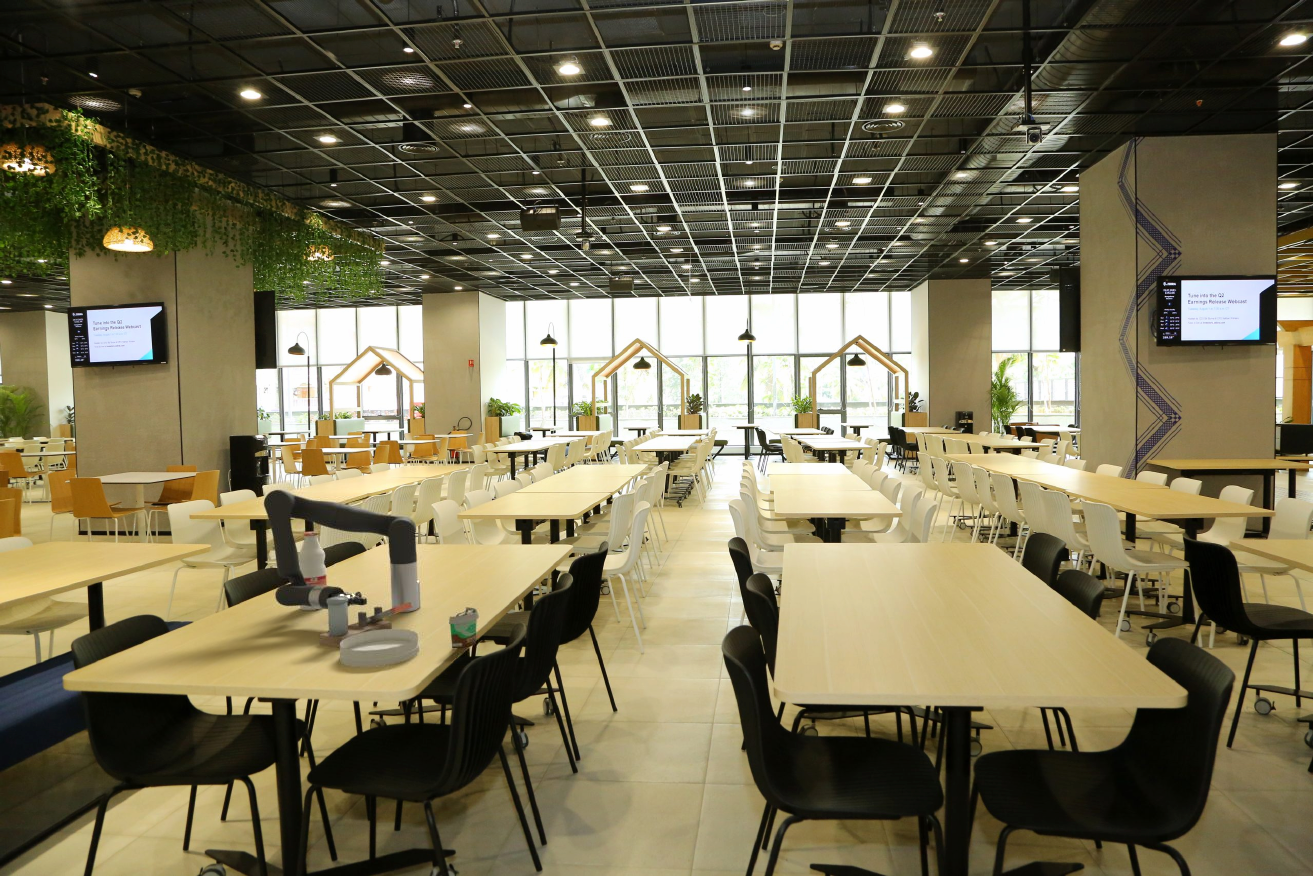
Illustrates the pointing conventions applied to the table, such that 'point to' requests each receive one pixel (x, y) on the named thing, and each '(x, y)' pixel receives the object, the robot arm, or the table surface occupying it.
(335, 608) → the grey canister
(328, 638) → the housing
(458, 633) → the food container
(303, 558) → the fruit juice
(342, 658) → the dish
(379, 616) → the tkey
